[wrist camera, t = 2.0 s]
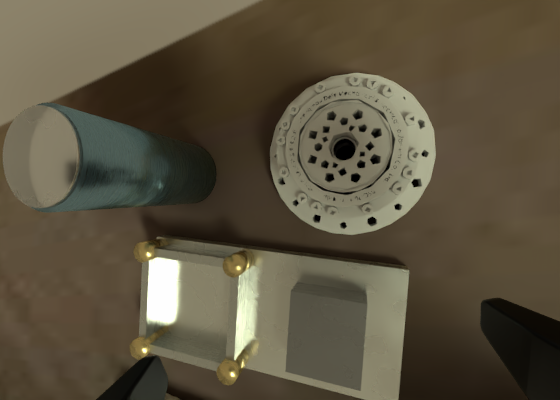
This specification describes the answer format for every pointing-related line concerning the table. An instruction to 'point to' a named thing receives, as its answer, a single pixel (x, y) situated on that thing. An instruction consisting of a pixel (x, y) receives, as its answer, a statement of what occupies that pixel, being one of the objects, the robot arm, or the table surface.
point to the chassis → (274, 314)
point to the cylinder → (99, 163)
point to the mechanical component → (346, 125)
